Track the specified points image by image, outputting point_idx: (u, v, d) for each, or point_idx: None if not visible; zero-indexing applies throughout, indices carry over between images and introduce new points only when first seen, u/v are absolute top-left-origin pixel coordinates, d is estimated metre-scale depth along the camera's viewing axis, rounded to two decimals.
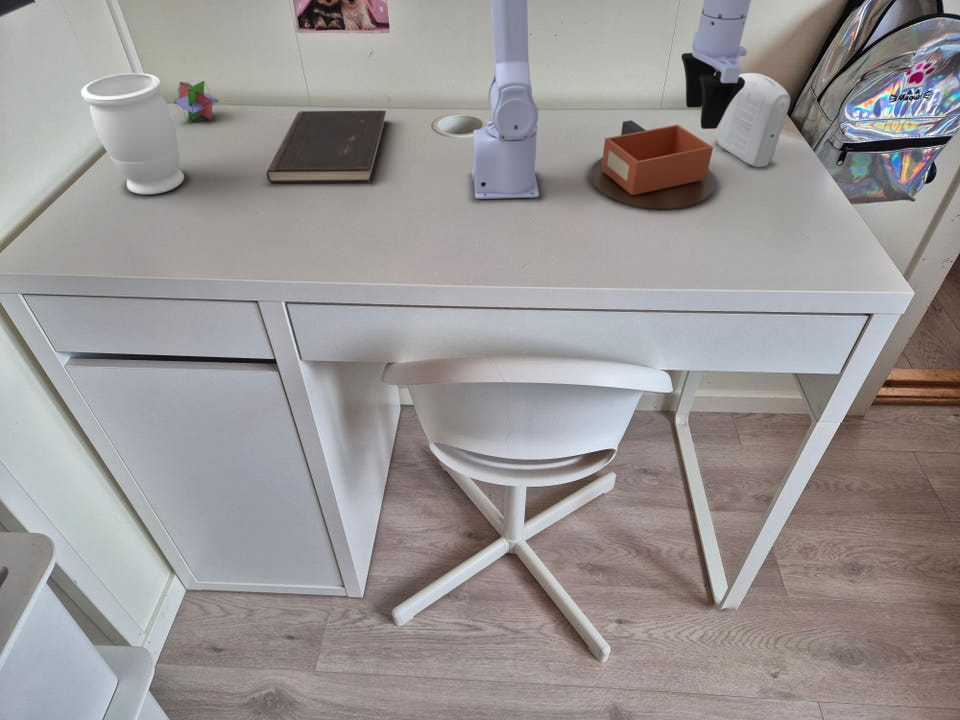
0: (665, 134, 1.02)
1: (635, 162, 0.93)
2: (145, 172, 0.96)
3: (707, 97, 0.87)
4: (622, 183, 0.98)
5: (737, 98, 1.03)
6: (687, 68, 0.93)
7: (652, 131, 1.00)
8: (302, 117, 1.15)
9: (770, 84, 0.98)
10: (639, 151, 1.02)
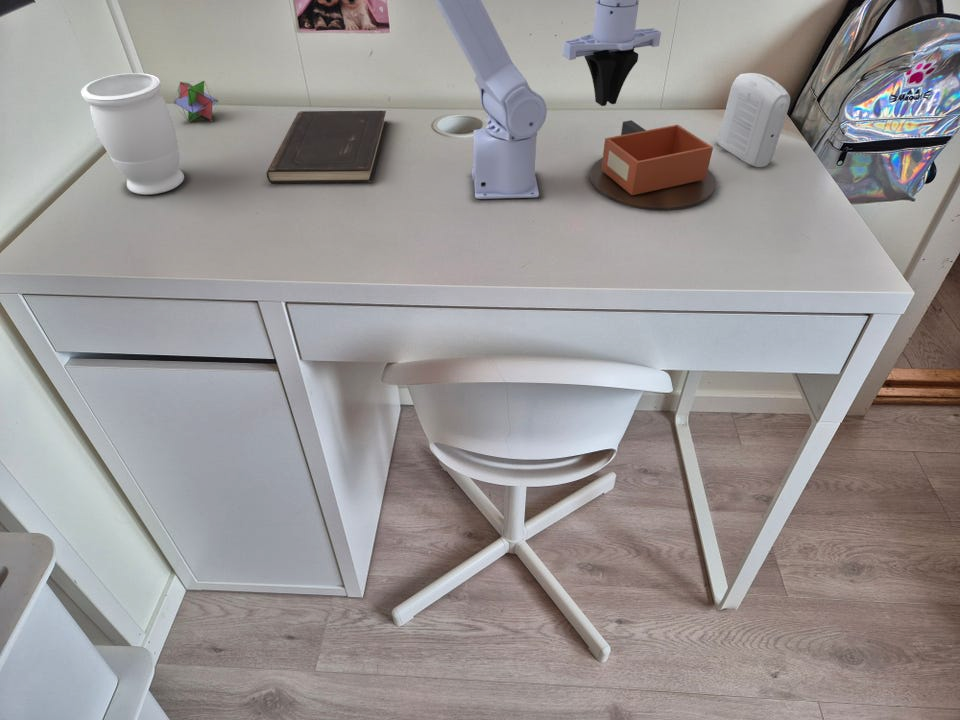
0: (665, 134, 1.02)
1: (635, 162, 0.93)
2: (145, 172, 0.96)
3: (589, 67, 0.95)
4: (622, 183, 0.98)
5: (737, 98, 1.03)
6: None
7: (652, 131, 1.00)
8: (302, 117, 1.15)
9: (770, 84, 0.98)
10: (639, 151, 1.02)
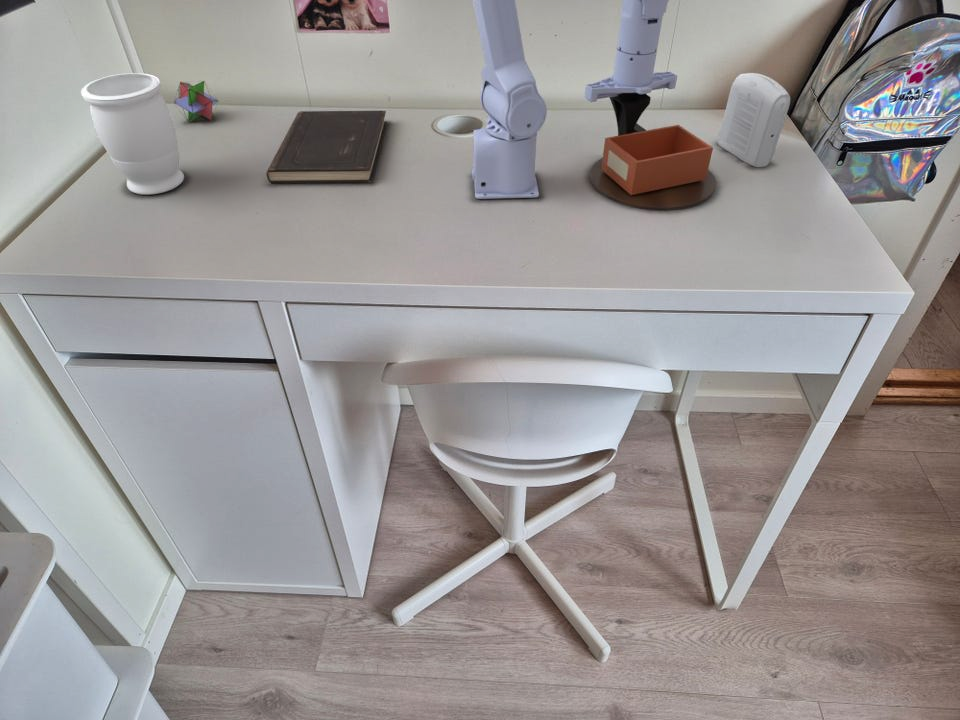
0: (666, 134, 1.02)
1: (634, 162, 0.93)
2: (145, 172, 0.96)
3: (613, 107, 1.00)
4: (621, 183, 0.98)
5: (737, 98, 1.03)
6: None
7: (652, 131, 1.00)
8: (302, 117, 1.15)
9: (770, 84, 0.98)
10: (639, 151, 1.02)
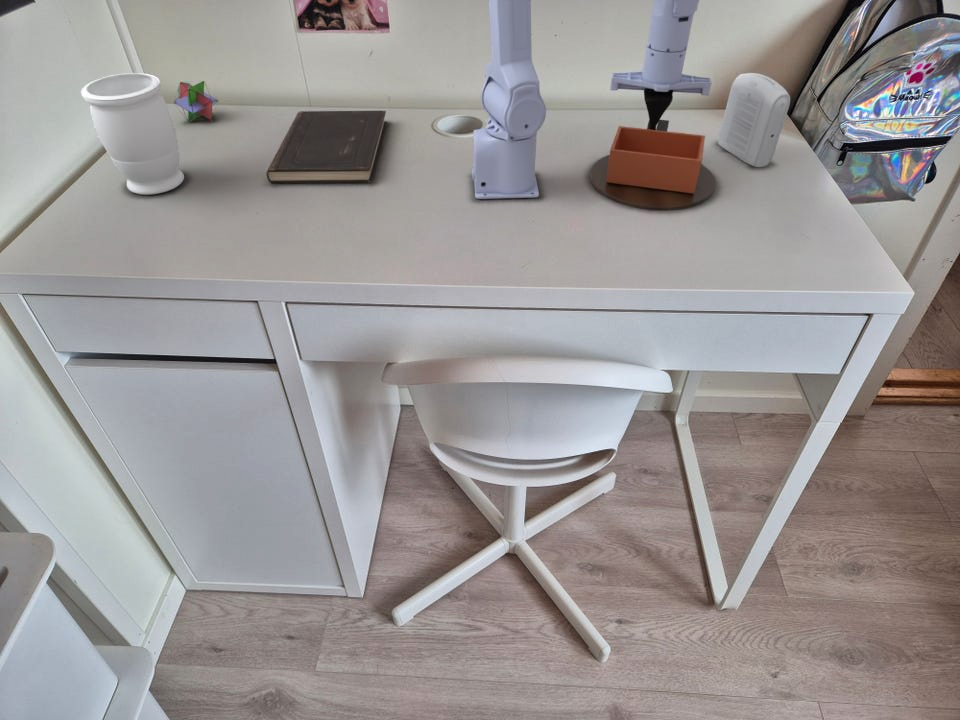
0: (687, 141, 1.00)
1: (610, 149, 0.96)
2: (145, 172, 0.96)
3: None
4: None
5: (737, 98, 1.03)
6: None
7: (671, 133, 1.00)
8: (302, 117, 1.15)
9: (770, 84, 0.98)
10: (656, 150, 1.02)
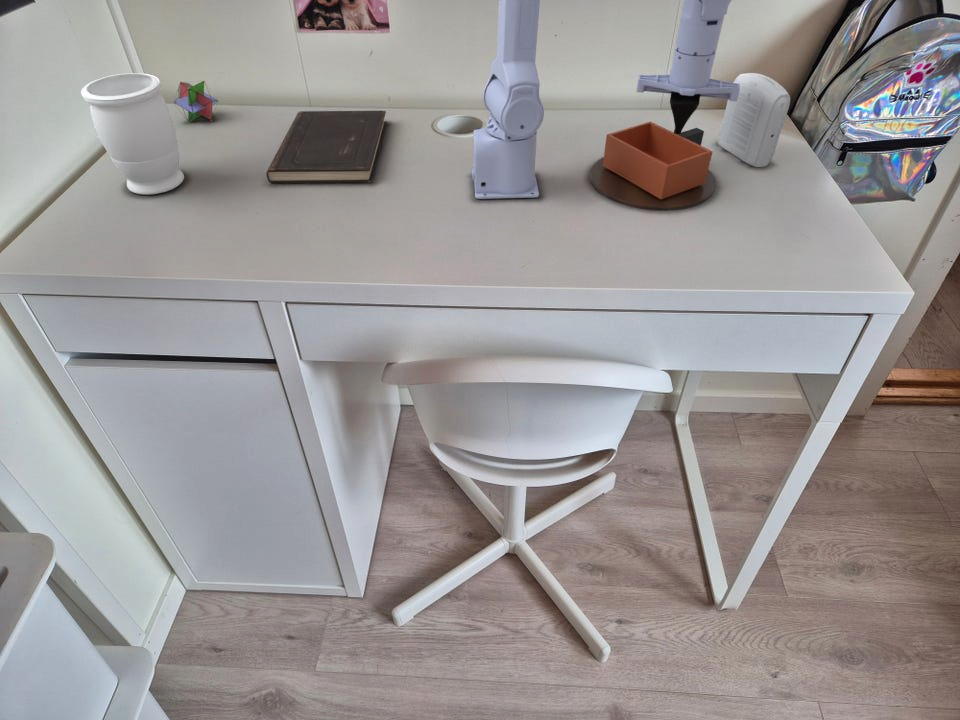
0: (696, 152, 0.97)
1: None
2: (145, 172, 0.96)
3: None
4: None
5: (737, 98, 1.03)
6: None
7: (685, 141, 0.98)
8: (302, 117, 1.15)
9: (770, 84, 0.98)
10: (673, 154, 1.01)
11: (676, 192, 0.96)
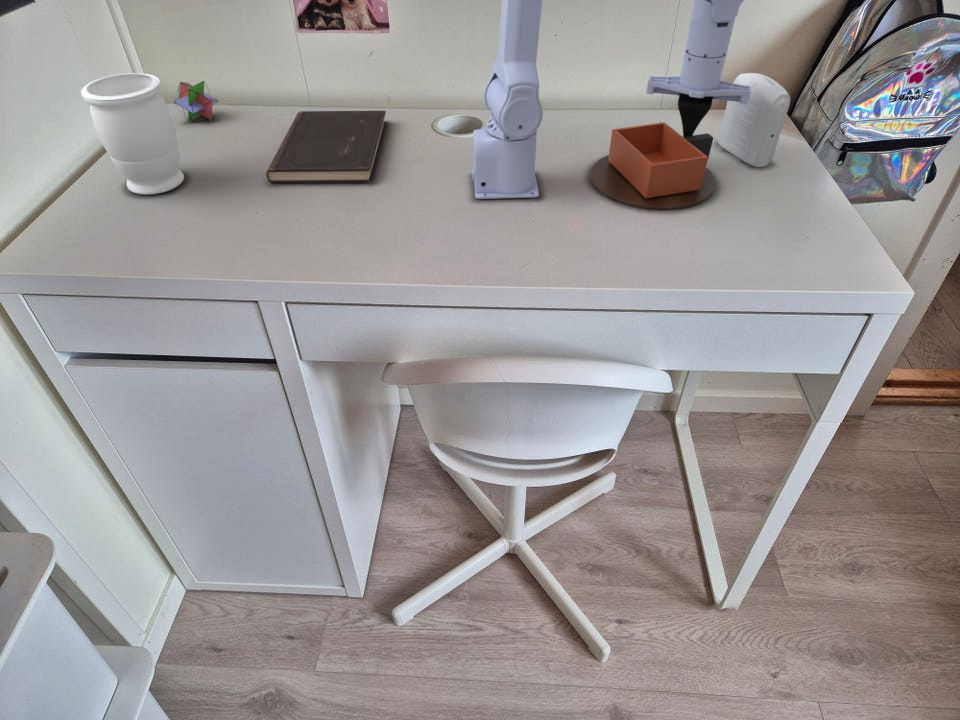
0: (695, 157, 0.96)
1: (614, 129, 1.01)
2: (145, 172, 0.96)
3: None
4: None
5: None
6: None
7: (687, 144, 0.97)
8: (302, 117, 1.15)
9: (770, 84, 0.98)
10: (677, 157, 1.00)
11: (664, 193, 0.96)
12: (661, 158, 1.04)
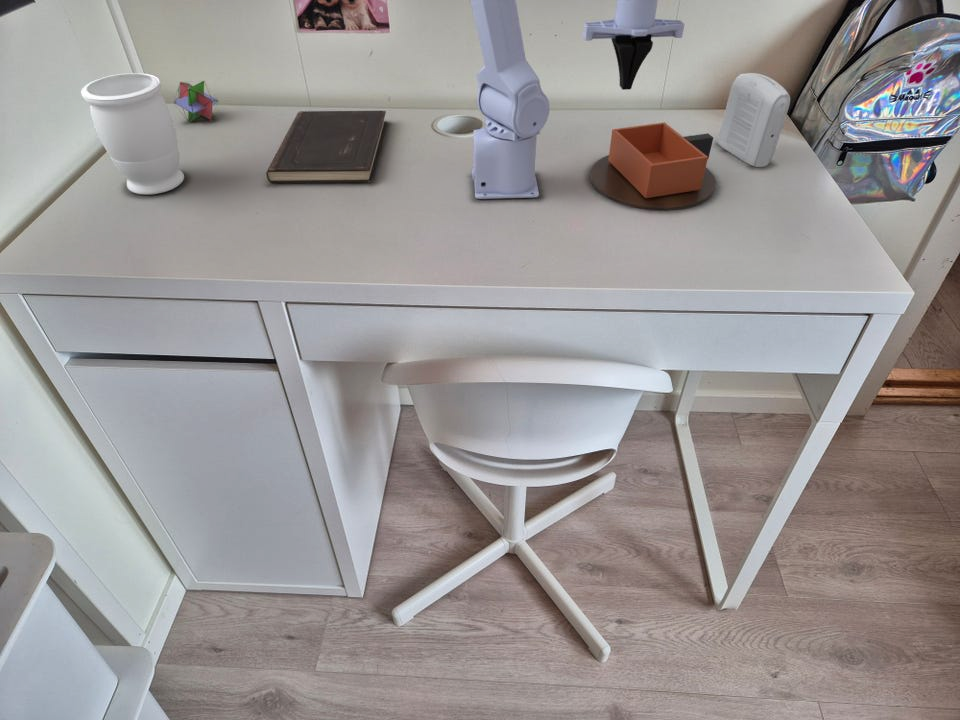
0: (695, 157, 0.96)
1: (614, 129, 1.01)
2: (145, 172, 0.96)
3: (615, 51, 1.00)
4: None
5: (737, 98, 1.03)
6: None
7: (687, 144, 0.97)
8: (302, 117, 1.15)
9: (770, 84, 0.98)
10: (677, 157, 1.00)
11: (664, 193, 0.96)
12: (661, 158, 1.04)
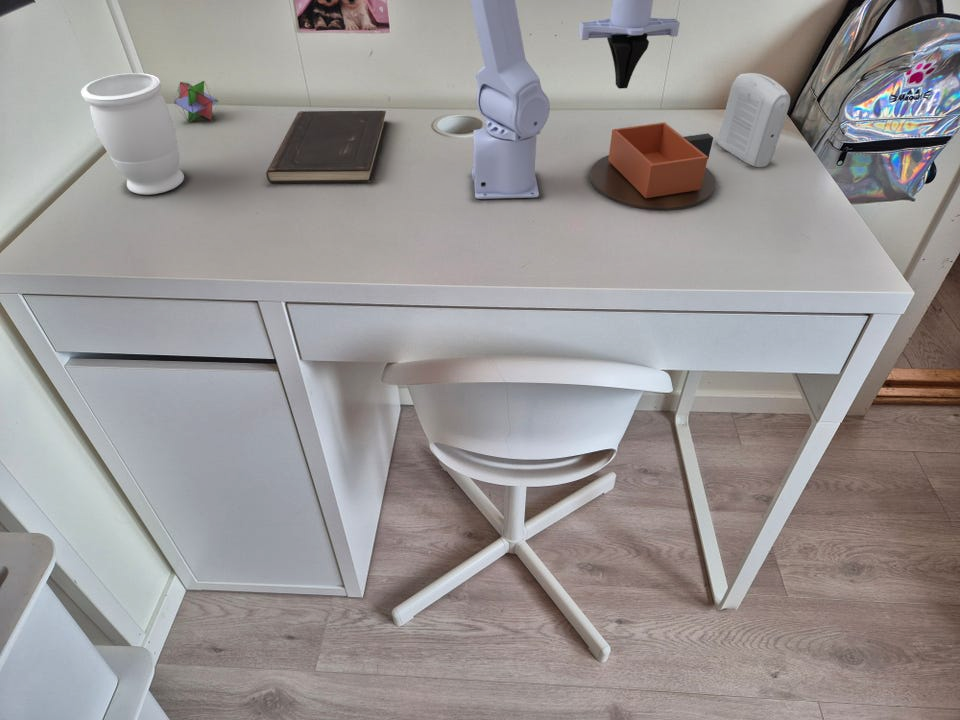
0: (695, 157, 0.96)
1: (614, 129, 1.01)
2: (145, 172, 0.96)
3: (611, 50, 1.00)
4: None
5: (737, 98, 1.03)
6: None
7: (687, 144, 0.97)
8: (302, 117, 1.15)
9: (770, 84, 0.98)
10: (677, 157, 1.00)
11: (664, 193, 0.96)
12: (661, 158, 1.04)
